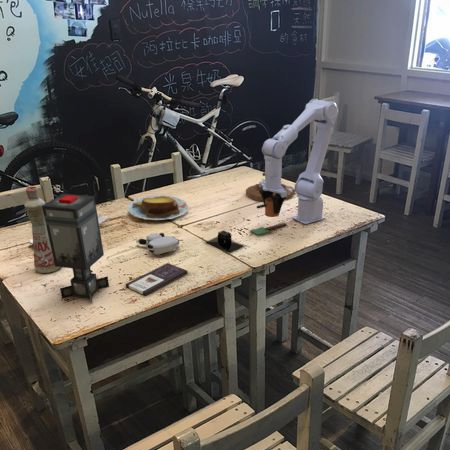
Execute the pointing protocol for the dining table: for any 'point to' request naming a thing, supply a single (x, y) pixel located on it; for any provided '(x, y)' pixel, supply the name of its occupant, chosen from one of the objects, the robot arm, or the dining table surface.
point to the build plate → (225, 242)
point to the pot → (268, 208)
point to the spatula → (266, 229)
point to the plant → (254, 190)
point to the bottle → (39, 232)
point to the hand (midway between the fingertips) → (272, 210)
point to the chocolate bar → (156, 279)
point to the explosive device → (75, 241)
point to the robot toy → (159, 243)
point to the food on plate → (157, 207)
